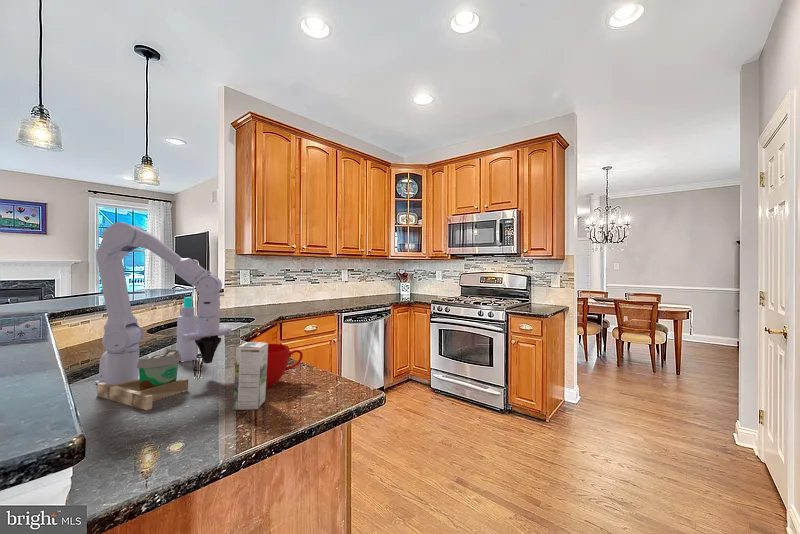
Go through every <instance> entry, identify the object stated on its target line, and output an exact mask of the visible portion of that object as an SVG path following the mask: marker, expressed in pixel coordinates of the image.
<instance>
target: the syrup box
mask: <svg viewBox="0 0 800 534" xmlns="http://www.w3.org/2000/svg"><path fill="white" fill-rule="evenodd" d="M268 344H269V343H268V342H263V341H262V342H261V341H260V342H259V341H250V342H249V341H247V342H243V343H242V344H240V345H238V346H236V348H235V363H234V364H235V365H234V383H233V384H234V386H233V387H234V388H233V391H234V392H233V403H232V404H233V407H232V409H233V410H234V411H236V410H237V411H239V410H241V411H243V410H244V411H245V410H250V411H251V410H259V409H260V408H261V407H262V406H263V404H264V403H265V402H266V396H267V387H266V379H267V356H268Z"/></svg>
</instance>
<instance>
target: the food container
mask: <svg viewBox="0 0 800 534" xmlns="http://www.w3.org/2000/svg"><path fill="white" fill-rule="evenodd" d="M179 361H181V354H180V353H179V351H178V350H177V349H176V348H175V349H173V348H167V349H166V352H164V353H161V354H156V355H154V356H152V357H150V358H139V362H138V366H137V368H139V380H140V391H142V390H145V389H149V388H153V387H156V386H160V385H164V384H167V383H171V382H175V381H177V376H178V371H179V363H180V362H179Z"/></svg>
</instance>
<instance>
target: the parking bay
mask: <svg viewBox="0 0 800 534" xmlns="http://www.w3.org/2000/svg"><path fill="white" fill-rule="evenodd" d="M96 386H97V391H96V396H97V397H100V398H103V399H107V400H110V401H113V402H117V403H119V404H123V405H127V406H131V407H134V408H137V409H141V410H144V411H149V410H152V409H153V402H156V401H158V400H159V401H160V400H162V398H163V399H166V398H169V397H172V396H175V395H174V394H176V395H178V394H177V393H179V394H181V393H180V392H182V393H184V392H183V391H185V392H188V391H189V379H188V378H183V379H179V380H176V381H175V382H171V383H167V384H164V385H160V386H156V387H153V388H149V389H145V390H142V391H140V380H139V379H135V380H131V381H127V382H123V383H119V384H115V385H111V384H107V383H99V384H97V385H96ZM187 390H188V391H187ZM171 395H172V396H171ZM168 396H169V397H168ZM165 397H166V398H165Z"/></svg>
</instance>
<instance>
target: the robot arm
mask: <svg viewBox="0 0 800 534" xmlns="http://www.w3.org/2000/svg"><path fill="white" fill-rule="evenodd" d="M102 236H103V237H102V239H101V242H100V244H99V247H98V249H97V251H96V253H95V254H96V261H97V267H98V272H99V277H100V282H101V288H102V293H103V298H104V299H103V300H104V303H105V310H106V314H107V320H106V322H105V324H104V327H103V330H104V334H103V337H102V340H101V344H102V346H103V347H104V349H105V350H106V351H104V352H103V353H102V354H101V356H100V357H99V369H98V380H95V381H94V384H99V383H107V384H111V385H115V384H119V383H123V382H127V381H131V380H135V379H139V368H137V366H138V362H139V359H140V346H139V345H140V344H139V343H140V342H141V341H143V339H144V338H143V337H144V331H143V328H141V326H140V325H139V323H138V319H137V318H136V316H135V315H133V312H132V308H131V307H132V306H131V301H130V296H129V291H128V290H129V289H128V285H127V280H126V275H125V268H124V264H123V259H124V258H125V257H126V256H127V255H128V254H129V253H131V251H134V250H136V249H138V248H142V249H145V250H148V251H150V252H152V253H153V254H155V255H156V256H158V257H159V258H160V259H163V261H165V262H167V263H168V264H169V265H170V266H172V267H173V269H174V270H173V271H174V274H176V275H177V276H178V277H180V278H181V279H182V280H184V281H185V282H187V283H188V284H189V285H191V286H192V287H195V290H196V292H197V293H198V302H197V316H198V321H197V332H193V333H189V334H185V335H182V342H190V341H194V340H195V343H196V344H197V349H198V350H199V352H200V355H201V358H202V363H203V364H207V365H208V364H211V363H212V362H213V359H214V357H215V353H216V351H217V348H218V347H219V345H220V344H221V342H222V336H229V335H232V328H231V327H225V328H224V327H223V328H220V319H221V318H220V316H221V315H220V313H221V299H220V298H221V293H220V291H221V290H222V287H223V283H222V281H221V279H220V278H219V277H218V275H212V271H210V270H206V269H205V268H204V267H203V266H201V265H199V264H198V263H199V261H198V260H197V259H194V258H193V259H192V258H190V257H186V258H182V257H181V256H180V255H179V254H177V253H176V252H175V251H174V250H173V249H172V248H170V247H169V246H168V245H167V244H165V243H163V241H161V240H160V239H159V238H158V237H157V236H155V235H154V234H152V233H150V232H148V231H146V230H145V229H144V228H142V227H140V226H137V225H132V224H128V223H126V222H121V221H118V222H114V223H112V224H111V225H109V226H108V227H107V228H106V229H104V230H103V232H102Z"/></svg>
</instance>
